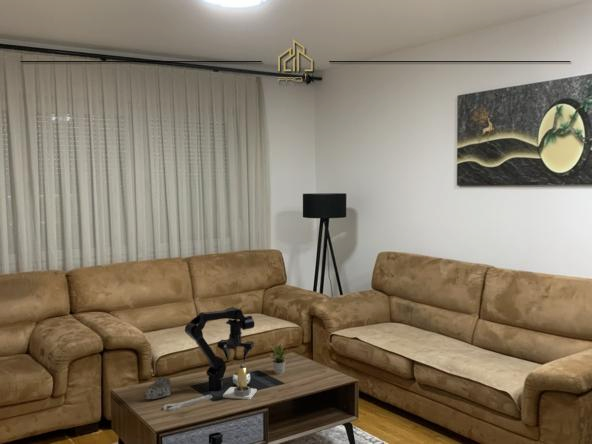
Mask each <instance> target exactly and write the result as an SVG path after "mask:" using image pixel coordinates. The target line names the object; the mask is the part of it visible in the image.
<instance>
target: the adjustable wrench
mask: <svg viewBox="0 0 592 444" xmlns="http://www.w3.org/2000/svg"><path fill="white" fill-rule="evenodd" d="M212 398H213V395H212V394H207V395H204V396H203V395H202V396H199V397H196V398H192V399H190V400H186V401H182V402H177V403H167V404H164V405H163V410H167V409H168V412H174V411H177V410H180V409H181V408H182V407H185V406H189V405H192V404H196V403H200V402H202V401H203V402H204V401H207V400H210V399H212Z"/></svg>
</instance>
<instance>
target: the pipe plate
mask: <svg viewBox="0 0 592 444" xmlns="http://www.w3.org/2000/svg"><path fill="white" fill-rule="evenodd" d="M257 390H258V389H257V388H252V387H250V386H248V385H247V390H246V391H238V386H230V387H229V388H228V389H227V390H226V391H225V392H224V393H223V394H222V398H229V399H239V400H241V399H242V400H251V399H252V398H253V397H254V395H255V394H256V392H257Z"/></svg>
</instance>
